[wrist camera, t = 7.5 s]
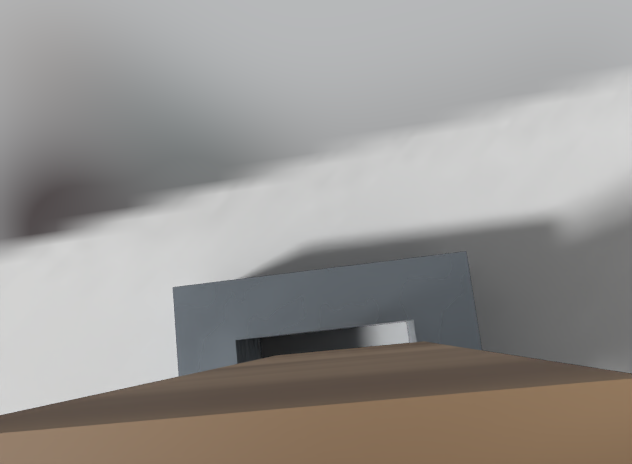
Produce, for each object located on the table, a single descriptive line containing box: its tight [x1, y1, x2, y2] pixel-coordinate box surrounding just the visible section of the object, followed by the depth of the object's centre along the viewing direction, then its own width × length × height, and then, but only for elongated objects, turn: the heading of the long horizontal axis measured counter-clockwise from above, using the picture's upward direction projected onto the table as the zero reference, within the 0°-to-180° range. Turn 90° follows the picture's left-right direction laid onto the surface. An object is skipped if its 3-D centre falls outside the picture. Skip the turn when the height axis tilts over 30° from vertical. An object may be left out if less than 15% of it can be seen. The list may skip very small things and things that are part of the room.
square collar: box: [173, 251, 482, 376], centre depth 20 cm, size 9×9×4 cm
